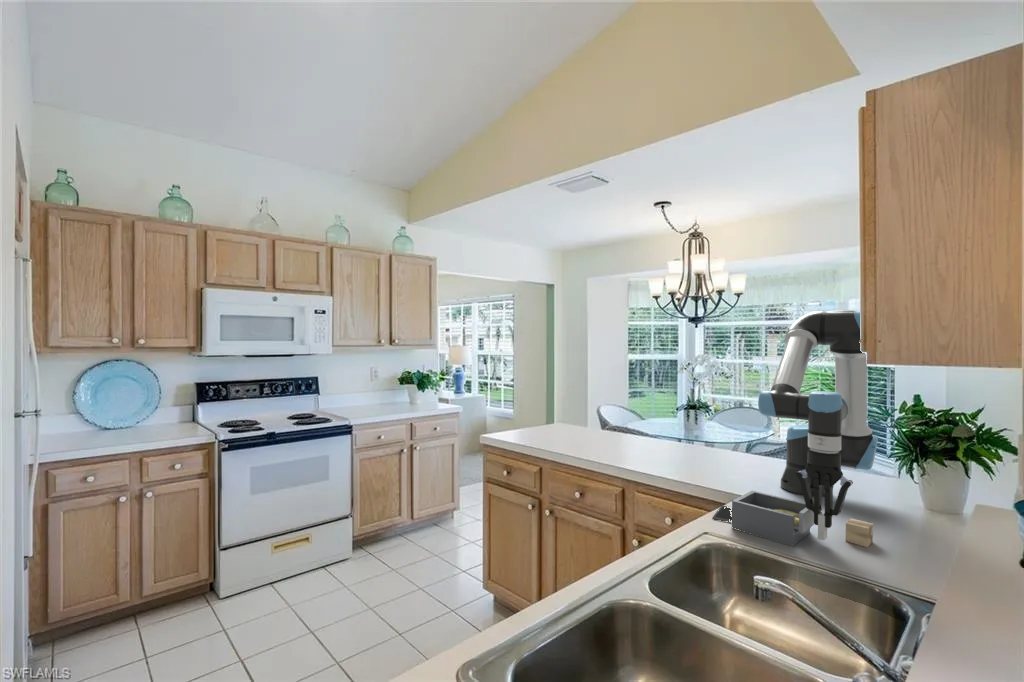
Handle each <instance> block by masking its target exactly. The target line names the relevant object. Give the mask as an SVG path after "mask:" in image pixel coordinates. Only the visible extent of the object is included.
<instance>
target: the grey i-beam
mask: <svg viewBox="0 0 1024 682" xmlns="http://www.w3.org/2000/svg"><path fill="white" fill-rule="evenodd" d="M768 509H769V508H768ZM814 525H815V524H814V512H813V511H812V510H810V509H807V508H805V509H803V510H802V511H800V512H799V526H794V529H796V530H799V532H800V533H804V532H805V531H806V530H808V529H809V528H810V529H811V527H812V526H814Z"/></svg>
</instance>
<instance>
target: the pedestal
mask: <svg viewBox="0 0 1024 682" xmlns="http://www.w3.org/2000/svg"><path fill="white" fill-rule="evenodd" d="M873 528H874V523H872V522H867V521H864V520H859V519H855V518H852V517H851V518H850V519H849V520H847V521H846V523H845V542H846V543H850V544H854V545H858V546H861V547H866V548H869V547H870V545H871V544H872V543H873V535H874V533H873V532H874V531H873V530H874V529H873Z"/></svg>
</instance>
